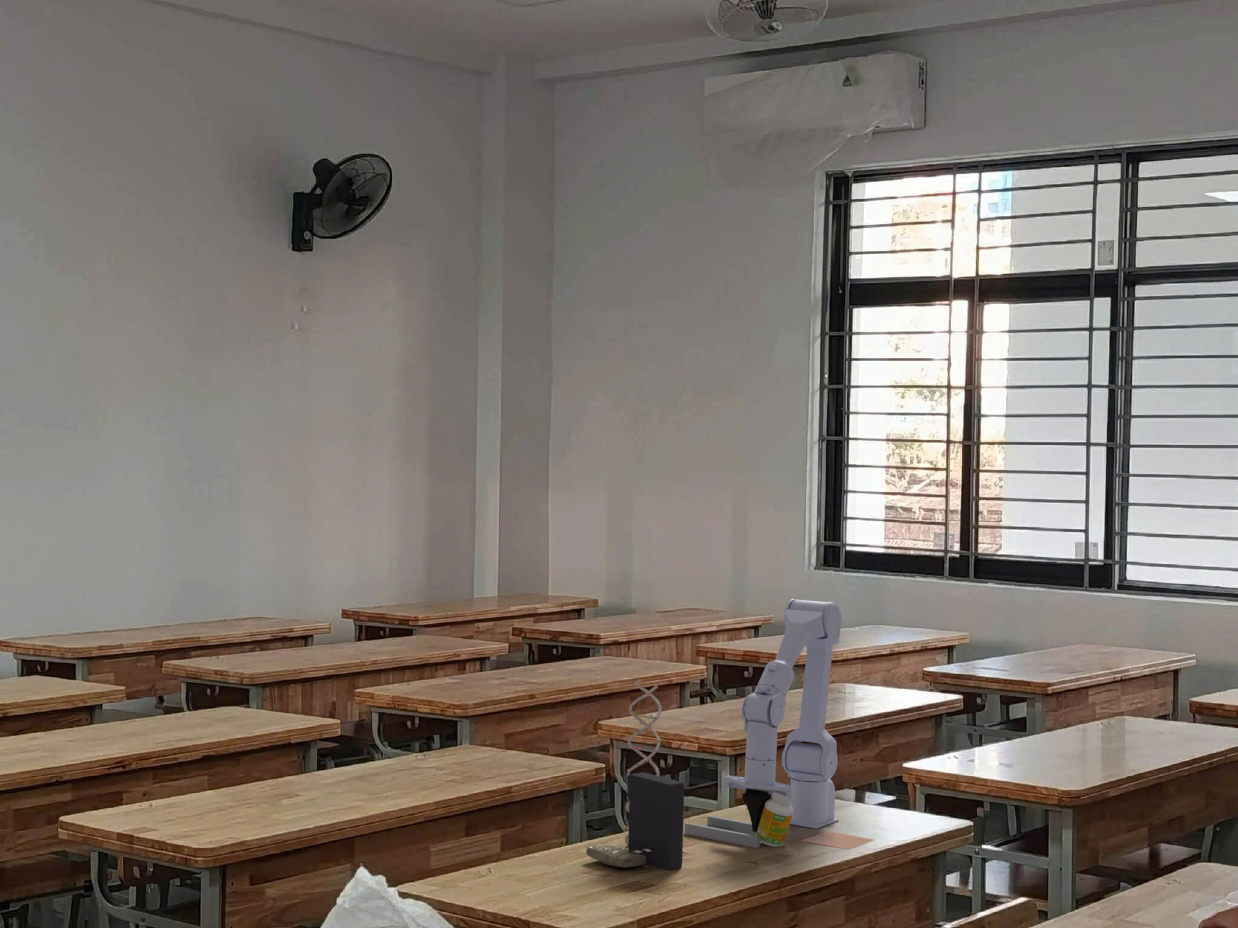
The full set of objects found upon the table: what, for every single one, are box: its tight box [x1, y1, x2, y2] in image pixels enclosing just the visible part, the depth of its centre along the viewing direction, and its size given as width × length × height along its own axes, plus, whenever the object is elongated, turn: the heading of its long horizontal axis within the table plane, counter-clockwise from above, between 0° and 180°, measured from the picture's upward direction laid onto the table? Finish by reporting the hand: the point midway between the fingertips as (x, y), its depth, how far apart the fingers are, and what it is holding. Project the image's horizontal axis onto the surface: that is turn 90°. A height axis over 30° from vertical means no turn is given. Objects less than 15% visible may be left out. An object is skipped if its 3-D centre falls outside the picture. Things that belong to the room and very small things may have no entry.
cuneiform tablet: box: [586, 844, 656, 868], centre depth 270 cm, size 6×4×12 cm
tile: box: [801, 830, 874, 851], centre depth 292 cm, size 10×10×1 cm
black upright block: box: [626, 771, 685, 872], centre depth 273 cm, size 11×4×15 cm, turn 42°
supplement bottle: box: [756, 791, 793, 848], centre depth 288 cm, size 5×5×10 cm
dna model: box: [624, 681, 662, 846], centre depth 283 cm, size 7×6×30 cm
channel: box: [684, 815, 761, 848], centre depth 294 cm, size 9×16×2 cm, turn 54°
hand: (757, 830), depth 290 cm, fingers closed, pressing on supplement bottle
